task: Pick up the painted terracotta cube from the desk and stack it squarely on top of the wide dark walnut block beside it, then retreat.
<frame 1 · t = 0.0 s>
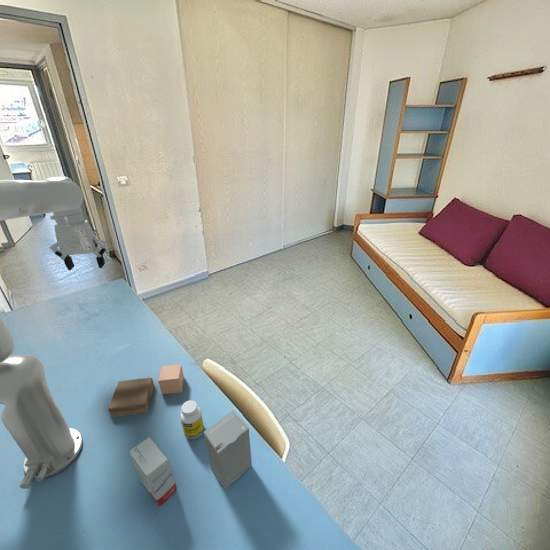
hand: (86, 267, 103), 31 cm above the table, fingers open, 9 cm apart
ink box: (159, 485, 71), on the table
walnut block: (134, 401, 93), on the table
skincare box: (231, 469, 74), on the table
supplement bottle: (194, 430, 84), on the table
terracotta cube: (173, 385, 97), on the table
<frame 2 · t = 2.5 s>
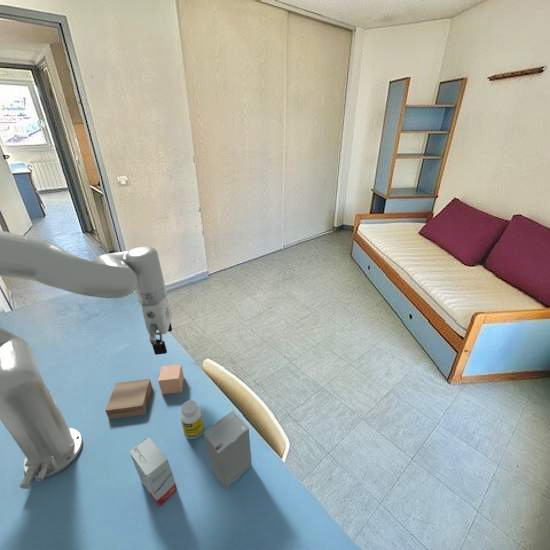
hand: (164, 341, 89), 18 cm above the table, fingers open, 9 cm apart
nothing on the table moved.
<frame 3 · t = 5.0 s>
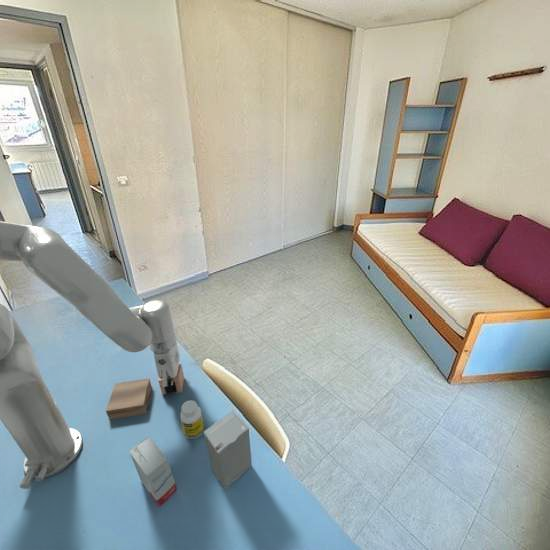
hand: (173, 383, 97), 1 cm above the table, fingers closed on terracotta cube, 6 cm apart
terracotta cube: (173, 385, 97), on the table, touching gripper
everything else where it was.
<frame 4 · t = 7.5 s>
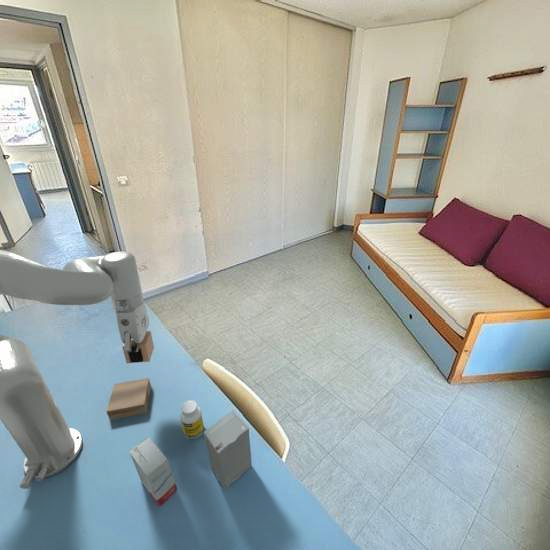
hand: (140, 352, 86), 17 cm above the table, fingers closed on terracotta cube, 6 cm apart
terracotta cube: (140, 355, 87), point 16 cm above the table, touching gripper
everything else where it was.
when the fingers open (5 cm above the table, at t = 10.3 s): terracotta cube stays where it is, resting on walnut block.
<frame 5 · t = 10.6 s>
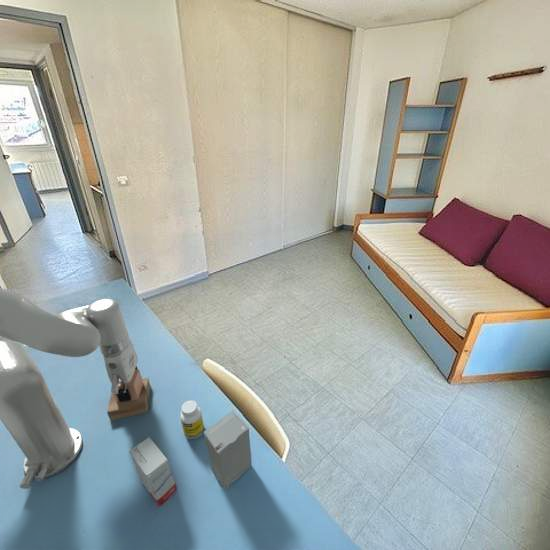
hand: (129, 387, 90), 5 cm above the table, fingers open, 8 cm apart
walnut block: (131, 403, 92), on the table, touching terracotta cube
terracotta cube: (130, 392, 91), point 4 cm above the table, touching walnut block
everything else where it was.
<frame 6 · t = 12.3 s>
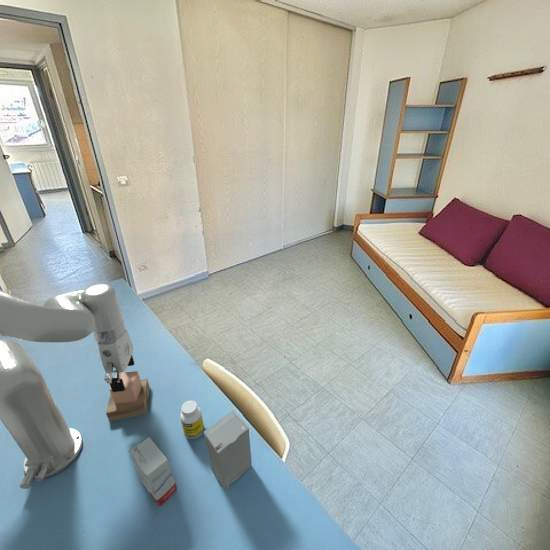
hand: (124, 377, 87), 10 cm above the table, fingers open, 9 cm apart
nothing on the table moved.
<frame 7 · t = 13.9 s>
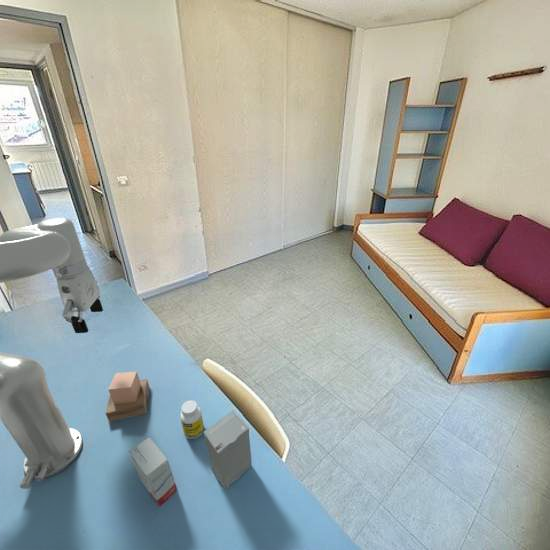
hand: (90, 321, 86), 25 cm above the table, fingers open, 9 cm apart
nothing on the table moved.
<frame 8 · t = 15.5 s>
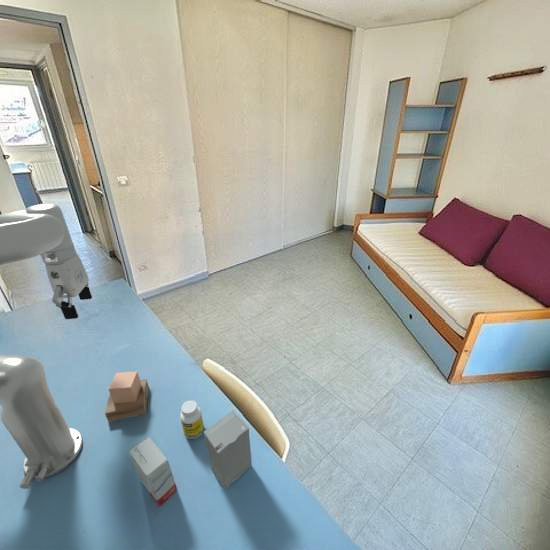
hand: (79, 308, 86), 28 cm above the table, fingers open, 9 cm apart
nothing on the table moved.
at the end: terracotta cube 0.4 cm off-centre on the walnut block, point 4.0 cm above the walnut block's base; terracotta cube tilted 0°; the gripper is holding nothing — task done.
